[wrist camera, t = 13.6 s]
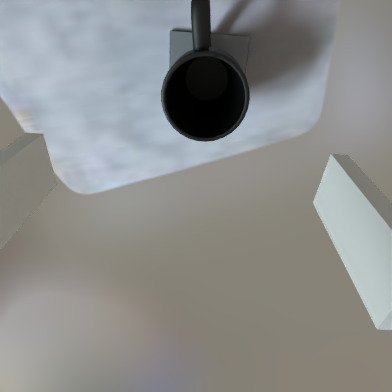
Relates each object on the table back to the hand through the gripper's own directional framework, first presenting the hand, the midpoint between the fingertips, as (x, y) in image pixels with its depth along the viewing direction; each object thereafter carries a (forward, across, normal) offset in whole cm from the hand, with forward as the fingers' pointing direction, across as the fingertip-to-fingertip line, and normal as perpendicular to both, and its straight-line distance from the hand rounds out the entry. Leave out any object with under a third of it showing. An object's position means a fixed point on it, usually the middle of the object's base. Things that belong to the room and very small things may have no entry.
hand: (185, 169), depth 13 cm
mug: (+24, 0, +1) cm, 24 cm away
